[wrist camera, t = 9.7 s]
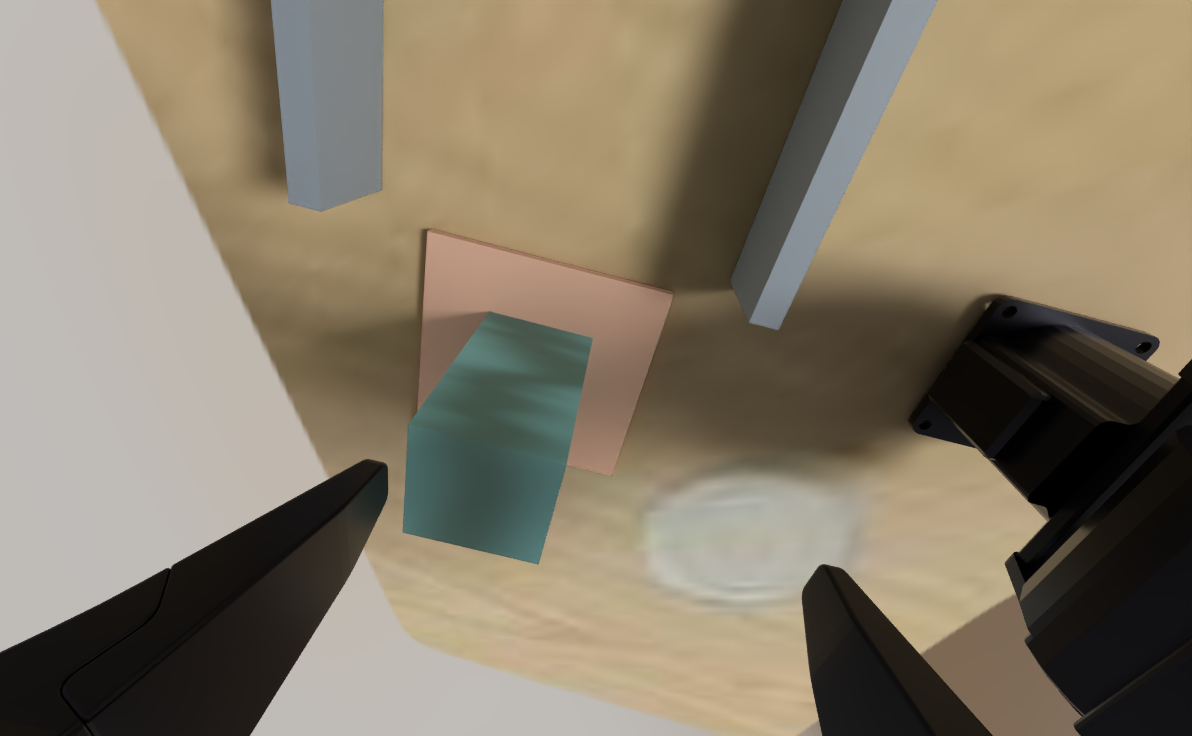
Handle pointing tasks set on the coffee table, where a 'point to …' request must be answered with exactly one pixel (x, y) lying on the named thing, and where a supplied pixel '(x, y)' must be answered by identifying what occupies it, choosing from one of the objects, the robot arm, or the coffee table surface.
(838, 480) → the coffee table surface
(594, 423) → the terracotta mat
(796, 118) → the open-front gray frame
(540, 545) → the teal block
